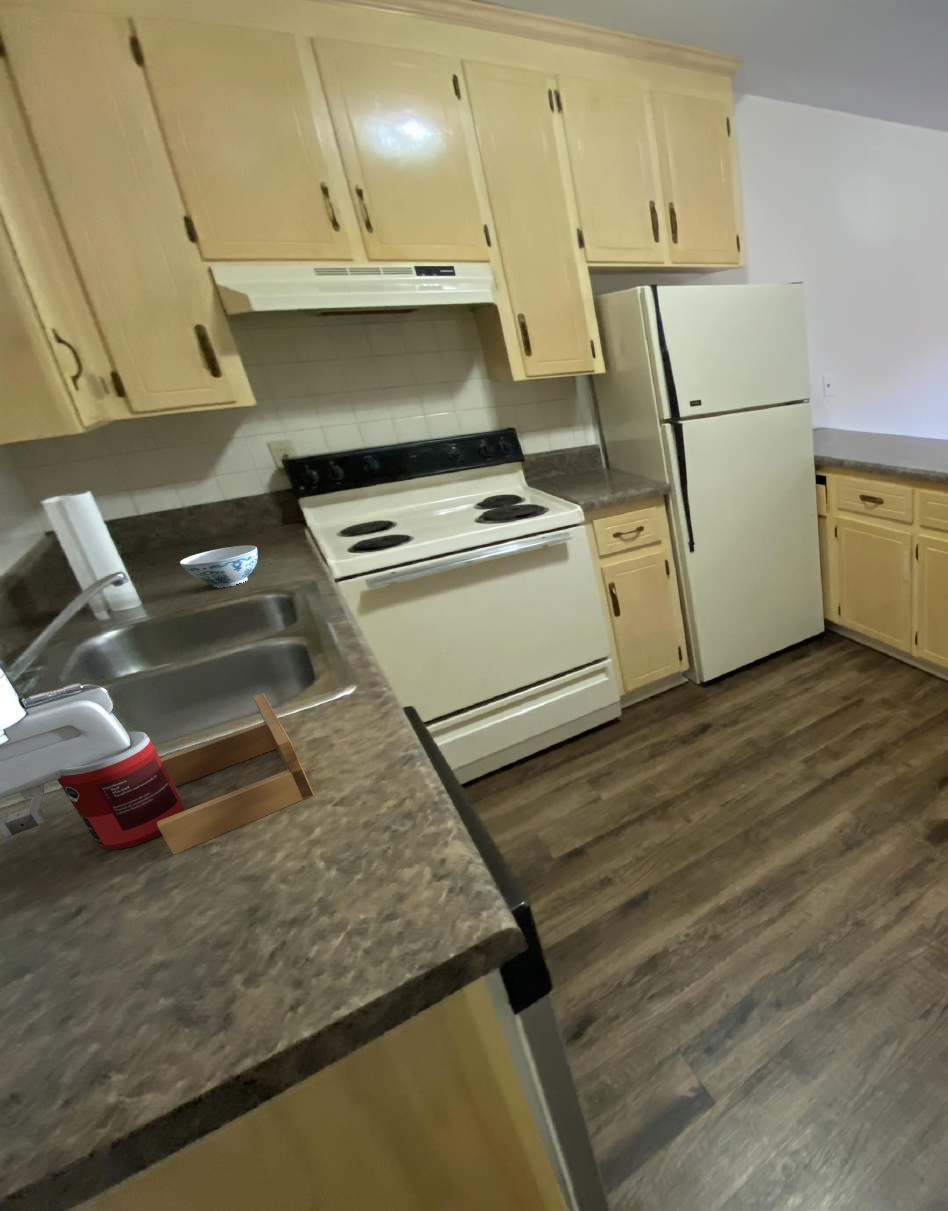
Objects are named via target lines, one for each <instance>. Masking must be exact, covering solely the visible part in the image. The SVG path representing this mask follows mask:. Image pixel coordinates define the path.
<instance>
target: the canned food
mask: <svg viewBox="0 0 948 1211" xmlns="http://www.w3.org/2000/svg"><path fill="white" fill-rule="evenodd" d="M126 732H127V734H128V736H129V738H130V742H131V746H130V748H129V749H127V750H126V751H124V752H122V753H119V754H116V755H113V756H110V757H107V758H104V759H101V760H98V761H95V762H92V763H90V764H87V765H83V766H78V767H73V768H66V769H61V770H60V776H61V778H60V779H57V782H58V783H59V785H60V786H61V788H62V790H63V791H64V793H65V794H66V796H67V797H68V799H69V801H70V802H71V804H72V806H73V807H74V809H75V811H76V813H77V814H78V815H79V817H80V819H81V821H82V822H83V824H84V825H85V827H86V829H87V830H88V832H89V834H90V835H91V836H92V837H91V838H93V840H94V842H95V843H96V844H98V845H99V846H100V847H102V848H104V849H106V850H119V849H120V850H121V849H127V848H131V847H134V846H137V845H141V844H143V843H147V842H148V841H151V840H153V839H155V838H158V837H160V836H162V834H161V832H160V830H159V828H158V826H157V822H158V821H160V820H163V819H165V818H168V817H170V816H173V815H175V814H178V813H180V812H183V811H185V810H186V809H185V803H184V802H183V799H182V797H181V796H180V793H179V792H178V790H177V788H176V787H175V786H174V784H173V782H172V780H171V778H170V776H169V774H168V772H167V771H166V769H165V767H164V765H163V763H162V761H161V759H160V758H161V757H160V755H159V754H158V750H156V748H155V746H154V744H153V742H152V741H151V738H150V737H149V736H148V734H147V733H146V732H143V731H126Z"/></svg>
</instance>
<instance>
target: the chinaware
mask: <svg viewBox="0 0 948 1211" xmlns="http://www.w3.org/2000/svg"><path fill="white" fill-rule="evenodd" d="M258 556H259V555H258V548H257V546H256V545H237V546H236V545H235V546H228V547H223V548H222V547H221V548H216V549H212V550H208V551H203V552H200V553H197V554H193V555H189V556H187V557H185V558H182V559H181V560H180V561H179V564H180V566H181V567H182V568H183V570H185V572H186V573H187V574H188V575H190V576H191V577H193V578H194V579H196V580H198V581H200V582H202V583H204V584H205V583H206V584H209V585H212V586H213V587H214V588H215V587H217V588H216V589H224V588H223V587H225V588H230V586H231V587H234V586H237V585H236V584H239V583H242V584H244V583H246V582H247V581H248V580H249V579H248V577H249V576H250V575H251V574H252V572H253V571H254V570H255V568H256V566H257V563H258ZM245 581H246V582H245ZM243 582H244V583H243ZM239 585H240V584H239Z"/></svg>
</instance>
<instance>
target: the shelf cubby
mask: <svg viewBox="0 0 948 1211" xmlns="http://www.w3.org/2000/svg"><path fill="white" fill-rule="evenodd" d="M252 699H253V700H254V702H255V705H256V707H257V709H258V712H259V713H260V716H261V719H262V720H263V722H259V723H257V724H254V725H251V726H248V727H245V728H242V729H240V730H236V731H234V732H231V733H228V734H226V735H223V736H219V737H217V738H214V739H211V740H209V741H205V742H202V743H200V744H197V745H194V746H191V747H188V748H186V749H183V750H180V751H177V752H174V753H171V754H168V755H166V756H163V757H160V759H161V761H162V763H163V765H164V767H165V769H166V771H167V772H168V774H169V776H170V778H171V780H172V782H173V784H174V786H175V788H176V787H179V786H182V785H184V784H187V783H190V782H192V781H195V780H198V779H200V778H203V777H205V776H209V775H210V774H214V773H216V772H219V771H222V770H224V769H227V768H230V767H232V766H235V765H237V764H240V763H242V762H245V761H248V760H251V759H253V758H256V757H258V755H259V756H261V755H264V754H267V753H270V752H272V751H274V749H275V750H276V751H277V753H278V756H279V758H280V759H281V761H282V763H283V765H284V767H285V769H286V770H284V771H281V772H278V773H276V774H274V775H271V776H268V777H266V778H263V779H261V780H259V781H255V782H253V783H251V784H249V785H246V786H243V787H240V788H238V789H236V790H234V791H230V792H228V793H226V794H223V795H221V796H218V797H215V798H212V799H211V800H208V801H205V802H203V803H200V804H197V805H196V806H192V807H190V808H188V809H185V811H183V812H180V813H178V814H175V815H173V816H170V817H168V818H165V819H163V820H160V821H158V822H157V826H158V828H159V830H160V832H161V836H162V837H163V839H164V841H165V843H166V844H167V846H168V849H169V850H170V852H171V853H172V855H173V856H174V855H177V854H179V853H182V852H184V851H186V850H189V849H191V848H194V847H195V846H199V845H200V844H202V843H205V842H207V841H209V840H212V839H214V838H217V837H219V836H221V835H224V834H226V833H228V832H231V831H233V830H236V829H237V828H240V827H243V826H245V825H247V824H249V823H252V822H255V821H257V820H259V819H261V818H263V817H265V816H268V815H270V814H272V813H275V812H277V811H280V810H282V809H284V808H287V807H289V806H292V805H293V804H296V803H299V802H301V801H303V800H305V799H308V798H310V797H312V796H314V795H315V794H314V791H313V790H312V787H311V785H310V783H309V780H308V778H307V776H306V774H305V771H304V769H303V766H302V764H301V762H300V760H299V757H298V755H297V752H296V751H295V748H294V746H293V743H292V740H291V739H290V737H289V735H288V734H287V732H286V730H285V729H284V727H283V725H282V724H281V721H280V719H279V718H278V716H277V714H276V713H275V711H274V709H273V707H272V706H271V704H270V702H269V700H268V698H267V697H266V694H265V693H260V694H258V695H253V697H252ZM271 750H272V751H271ZM266 752H267V753H266ZM263 753H264V754H263ZM250 758H251V759H250Z"/></svg>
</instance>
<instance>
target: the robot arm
mask: <svg viewBox="0 0 948 1211" xmlns="http://www.w3.org/2000/svg"><path fill="white" fill-rule="evenodd" d="M114 709H115V702H114V700H113V699H112V697H111V694H110V693H109V691H108V690H107V689H106V688H104V687H103V686H101V685H98V684H94V683H93V684H92V683H87V684H86V683H85V684H82V682H76V683H71V684H67V685H64V686H62V687H59V688H57V689H54V690H49V691H43V692H38V693H34V694H32V695H28V696H23V697H19V695H18V694H17V692H16V690H15V688H14V686H13V685H12V683H11V682H10V680H9V679H8V677H7V675H6V674H5V672H4V671H3V670H2V668H1V667H0V800H1V799H5V798H7V797H10V796H13V795H17V794H20V795H21V796H22V798H23V799H24V800H29V799H31V800H30V804H29V806H28V807H27V808H24V809H21V810H19V811H15V812H13V813H10V814H6V813H4V812H1V811H0V832H1V833H2V835H3V836H4V837H5V838H7V839H8V838H9V837H13V836H15V835H17V834H20V833H23V832H25V831H28V830H31V829H34V828H36V827H39V826H42V825H45V824H46V823H47V816H46V814H45V813H44V810H43V809H42V807H41V805H42V802H43V798H44V795H45V788H46V785H45V784H49V783H51V782H54V781H56V780H57V781H58V779H60V778H61V776H60V770H61V769H66V768H73V767H78V766H83V765H87V764H90V763H92V762H95V761H98V760H101V759H104V758H107V757H110V756H113V755H116V754H119V753H122V752H124V751H126V750H127V749H129V748H130V746H131V742H130V738H129V736H128V734H127V732H128V731H127V730H126V729H125V728H124V726H123V724H122V723H121V722H120V721H119V719H118V718H117V716H115V714H114V713H113V711H114Z"/></svg>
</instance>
